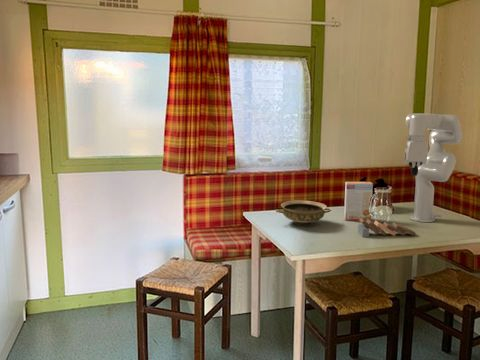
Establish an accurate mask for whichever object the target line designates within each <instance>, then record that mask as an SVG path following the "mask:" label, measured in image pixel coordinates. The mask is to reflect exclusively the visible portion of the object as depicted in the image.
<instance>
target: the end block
mask: <svg viewBox="0 0 480 360" xmlns="http://www.w3.org/2000/svg"><path fill="white" fill-rule="evenodd" d="M357 233H358V234H359V235H360V236H361V237H362V238H370V229H369V228H368V227H366V226H365V225H364V224H362V223H361V224H360V223H359V224H357Z"/></svg>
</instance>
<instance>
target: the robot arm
mask: <svg viewBox="0 0 480 360" xmlns="http://www.w3.org/2000/svg"><path fill="white" fill-rule="evenodd" d="M404 122H405V125H406V127H407V128H409V129H408V130H409V133H408V136H406V137H405V138H406V140H408V141H407V142H406V145H405V148H404V149H405V150H404V162H403V163H404V164H407V165H409V166H410V175H411V176H414V177H415V178H414V179H415V189H414V190H415V191H414V204H413V206H414V207H413V214H412V215H410V219H411V220H412V221H415V222H420V223H433V222H435V221H436V218H442V213H441V212H438V213H437V212H434V200H435V199H434V195H435V187H434V185H433V183H432V182H439V183H440V182H441V183H442V182H443V183H444V182H447V181H448V180H449V179H450V177H451V176H452V174H453V171H454V169H455V167H456V163H457V162H456V161H457V159H456V156H455V155H454V154H453V153H451V152H446V149H445V147H444V146H443V145H458V144H459V145H460V143H461V142H462V140H463V131H462V127H461V121H460V119H459V117H458V115H456V114H441V113H440V114H438V113H420V112H419V113H418V112H417V113H412V112H411V113H408V114H407V116H406V117H405V121H404ZM426 130H431V131H430V133H429V136H428V137H429V138H428V142H429V143H427V141H426ZM428 144H429V150H428ZM442 144H443V145H442Z"/></svg>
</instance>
